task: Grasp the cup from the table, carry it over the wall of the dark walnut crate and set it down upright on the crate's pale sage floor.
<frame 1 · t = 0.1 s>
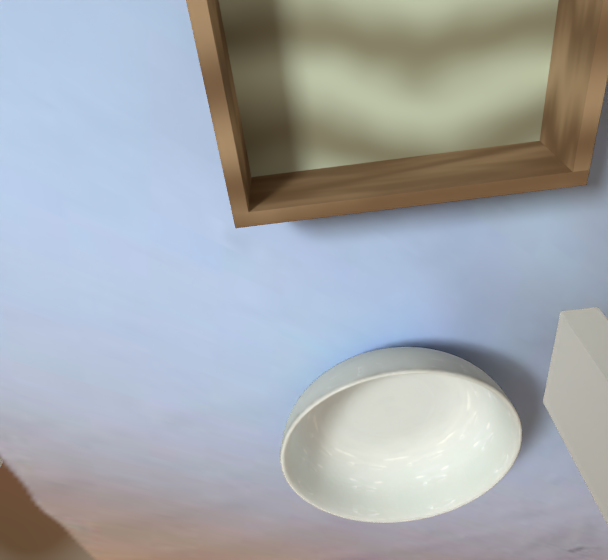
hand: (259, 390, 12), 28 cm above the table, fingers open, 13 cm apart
serving bowl: (387, 397, 53), on the table
crate: (389, 33, 34), on the table
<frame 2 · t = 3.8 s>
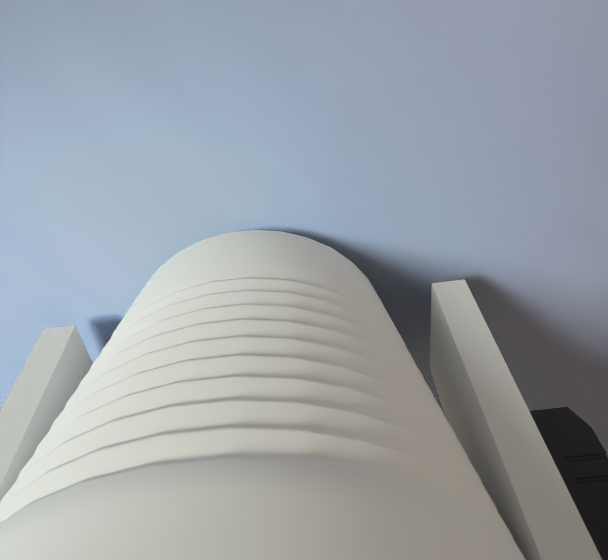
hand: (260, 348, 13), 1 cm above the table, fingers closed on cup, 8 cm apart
cup: (261, 321, 14), on the table, touching gripper
when the fingers open (4 cm above the table, at t = 9.7 s): cup drops 2 cm, point 1 cm above the table.
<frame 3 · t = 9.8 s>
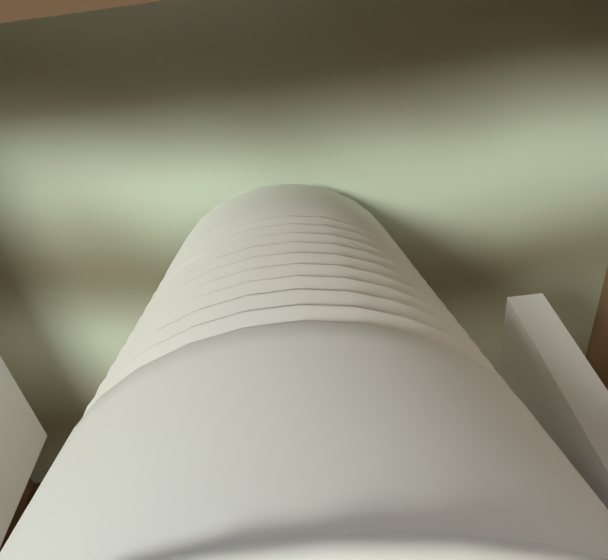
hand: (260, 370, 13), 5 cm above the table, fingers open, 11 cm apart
cup: (287, 273, 16), point 1 cm above the table, touching gripper
crate: (263, 264, 16), on the table
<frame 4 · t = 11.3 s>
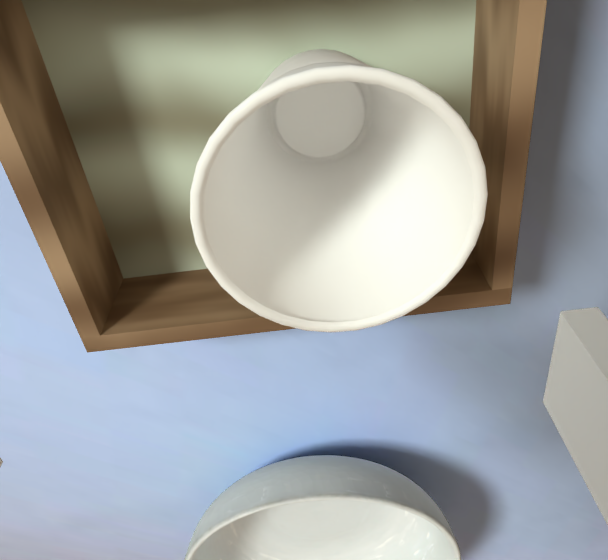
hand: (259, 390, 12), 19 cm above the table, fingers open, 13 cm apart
serving bowl: (317, 497, 47), on the table
cup: (319, 111, 27), point 1 cm above the table, touching crate
crate: (271, 119, 28), on the table
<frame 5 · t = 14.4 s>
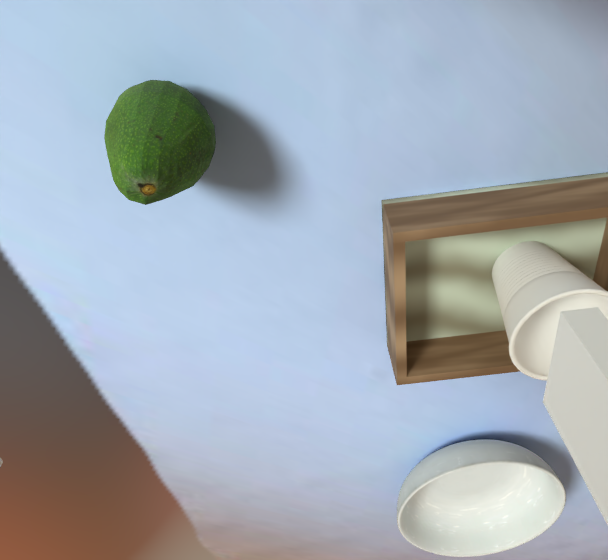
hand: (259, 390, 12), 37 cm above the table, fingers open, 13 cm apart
avocado: (172, 116, 46), on the table
serving bowl: (465, 466, 75), on the table
cup: (520, 264, 55), point 1 cm above the table, touching crate
crate: (493, 266, 55), on the table
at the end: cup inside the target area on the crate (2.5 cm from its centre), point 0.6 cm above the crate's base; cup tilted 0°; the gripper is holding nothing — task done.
